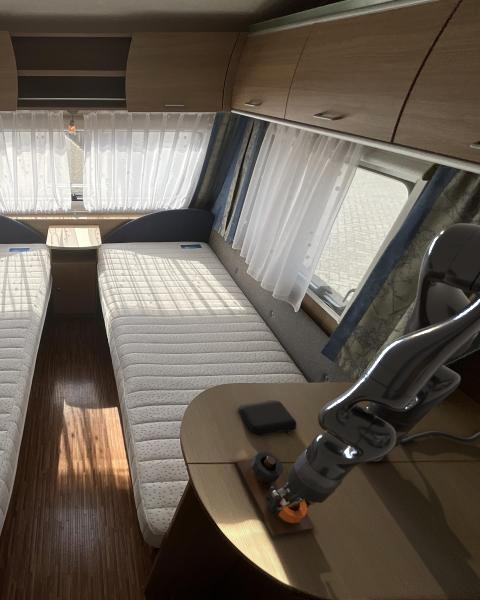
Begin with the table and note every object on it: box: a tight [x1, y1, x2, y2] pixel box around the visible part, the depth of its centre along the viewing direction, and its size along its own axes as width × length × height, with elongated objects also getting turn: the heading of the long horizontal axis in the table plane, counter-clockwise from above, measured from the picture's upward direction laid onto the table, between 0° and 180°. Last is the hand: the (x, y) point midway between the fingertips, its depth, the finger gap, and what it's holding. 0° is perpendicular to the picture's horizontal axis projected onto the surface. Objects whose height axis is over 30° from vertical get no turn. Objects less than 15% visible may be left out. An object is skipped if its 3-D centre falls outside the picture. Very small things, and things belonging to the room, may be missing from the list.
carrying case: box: [237, 399, 297, 436], centre depth 99 cm, size 11×3×15 cm
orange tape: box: [278, 496, 308, 523], centre depth 77 cm, size 6×6×3 cm
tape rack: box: [234, 456, 316, 538], centre depth 81 cm, size 10×17×8 cm, turn 8°
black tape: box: [252, 451, 284, 482], centre depth 84 cm, size 6×6×3 cm
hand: (286, 509), depth 78 cm, fingers closed on orange tape, 6 cm apart
